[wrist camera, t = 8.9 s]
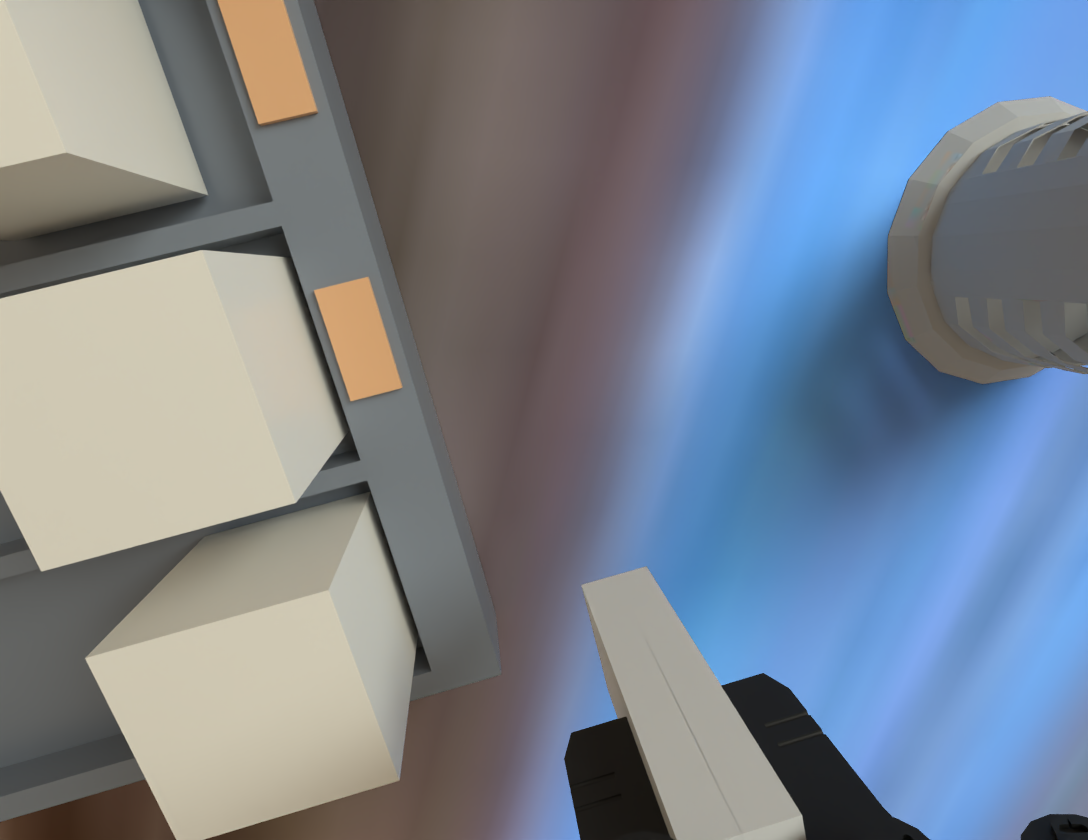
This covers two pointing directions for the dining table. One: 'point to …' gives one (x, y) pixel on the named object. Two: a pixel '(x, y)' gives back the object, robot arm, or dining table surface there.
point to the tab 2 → (160, 402)
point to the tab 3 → (266, 670)
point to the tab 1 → (85, 118)
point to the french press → (997, 245)
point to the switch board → (351, 352)
